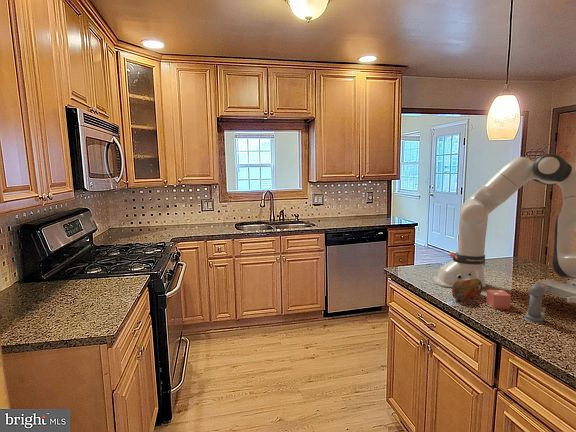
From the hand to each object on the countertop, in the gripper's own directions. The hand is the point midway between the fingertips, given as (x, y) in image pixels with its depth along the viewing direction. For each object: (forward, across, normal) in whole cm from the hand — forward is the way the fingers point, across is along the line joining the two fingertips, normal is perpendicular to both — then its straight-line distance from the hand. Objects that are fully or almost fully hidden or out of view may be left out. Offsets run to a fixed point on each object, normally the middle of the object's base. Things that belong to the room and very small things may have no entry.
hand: (552, 294), depth 125 cm
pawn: (+8, 0, +8) cm, 11 cm away
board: (+3, -3, +9) cm, 10 cm away
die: (+9, -13, +9) cm, 19 cm away
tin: (+14, -25, +9) cm, 29 cm away
